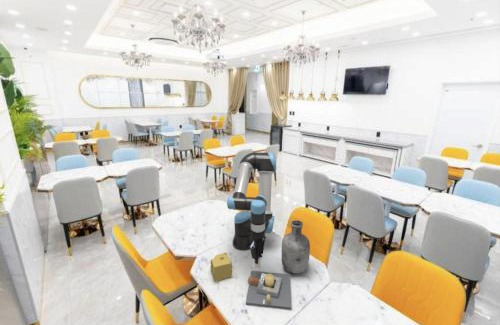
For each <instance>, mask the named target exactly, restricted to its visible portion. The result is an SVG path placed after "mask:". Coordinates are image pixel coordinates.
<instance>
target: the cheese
mask: <svg viewBox="0 0 500 325" xmlns="http://www.w3.org/2000/svg"><path fill="white" fill-rule="evenodd" d="M210 271H211V273H212V277H213V281H214V282H219V281H223V280H226V279H230V278H232V276H233V264H232V261H231V259H230V257H229V255H228V253H227V252H223V253H219V254H215V256H214V258H212V259H210Z"/></svg>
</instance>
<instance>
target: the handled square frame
mask: <svg viewBox="0 0 500 325" xmlns="http://www.w3.org/2000/svg"><path fill="white" fill-rule="evenodd" d="M266 275H267V274H263V273H262V275H261V278H260V279H259V278H255V277H251V275H249V277H248V279H247V284H248V285H249V284H251V285H255V286H257V293H261V294H265V295H268V294H269V295H270V296H273V297H277V298H278V294H279V290H280V286H281V282H282V278H281V277H276V276H274V284H275V287H274V288H270V287H265V286H264V284H265V276H266Z"/></svg>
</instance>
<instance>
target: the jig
mask: <svg viewBox="0 0 500 325" xmlns="http://www.w3.org/2000/svg"><path fill="white" fill-rule="evenodd" d="M262 273H263V274H267V275H266V276H265V284H264V286H265V287H270V288H274V287H275V284H274V276H276V277H281V278H282V282H281V286H280V290H279V294H278V298H277V297H273V296H270V295H269V294H268V295H265V294H261V293H257V286H255V285H251V284H248V289H247V292H246V299H245V306H251V307H252V306H253V307H261V308H269V309H280V310H287V311H288V310H289V311H292V293H291V292H292V290H291V288H292V287H291V274H290V273H282V272H281V273H280V272H271V271H262V270H261V271H259V270H251V271H250V276H251V277H255V278H259V279H260V278H261V275H262Z"/></svg>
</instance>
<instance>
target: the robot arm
mask: <svg viewBox="0 0 500 325" xmlns="http://www.w3.org/2000/svg"><path fill="white" fill-rule="evenodd" d="M275 155H276V154H275V153H273V152H255V151H254V152H248V153H247V154H245V156H243V157H242V158H241V160H240V161H239V164H238V169H239V170H238V174H237V177H236V178H237V179H236V181H235V185H234V190H233V193H232V195H229V196H228V197H227V200H226V205H227V206H226V207H227V209H228V210H234V211H236V210H237V211H238V212H237V213H236V214H235V215H234V220H233V221H234V235H233V238H232V246H233V248H234V249H235V250H238V251H249V250H250V255H251V259H253V260H254V268H256V269H257V270H259V269H261V260H262V259H261V258H263V254H264V249H265V243H266V238H267V237H266V236H265V235H266V234H271V233H273V229H274V228H273V227H274V224H275V218H276V217H275V216H274V215H273V212H272V211H271V208H272V207H271V204H272V180H273V178H272V177H273V174H274V173H275V171H276V170H277V163H276V162H277V161H276V156H275ZM253 170H256V172H257V173H258V194H257V195H256V196H255V197H251V196H247V193H248V192H247V191H248V187H249V181H250V178H251V172H253Z"/></svg>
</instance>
